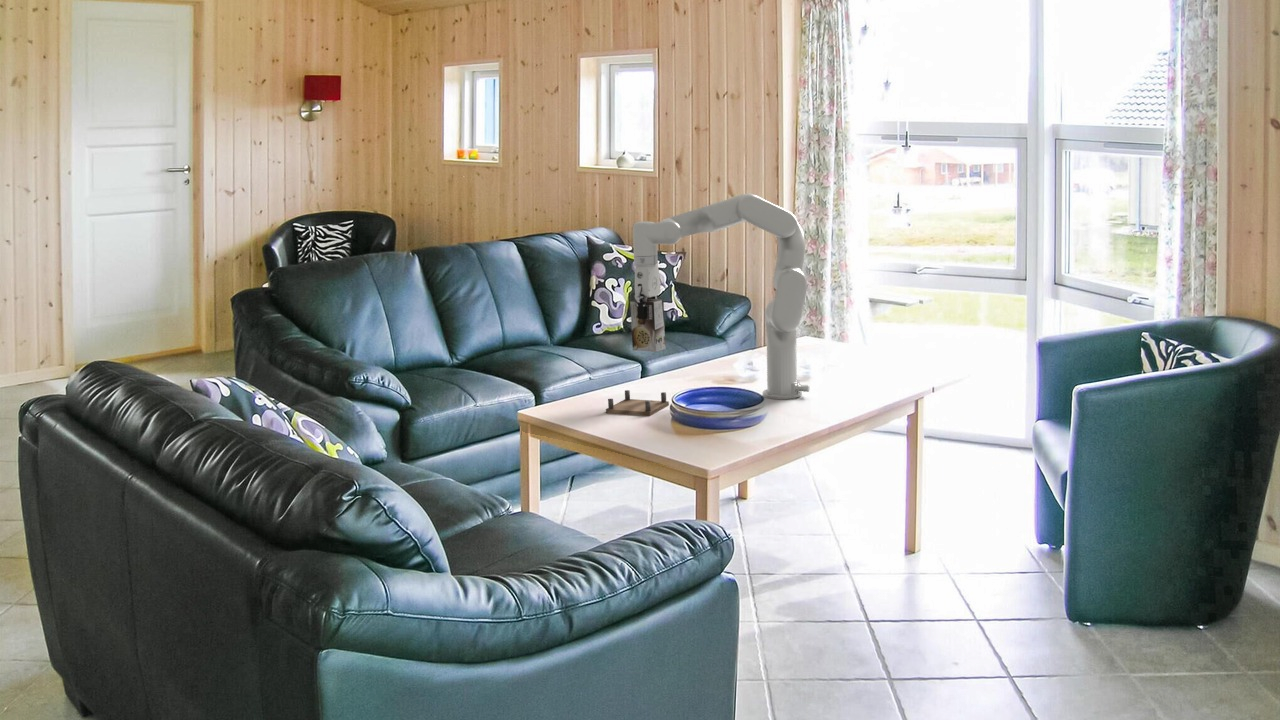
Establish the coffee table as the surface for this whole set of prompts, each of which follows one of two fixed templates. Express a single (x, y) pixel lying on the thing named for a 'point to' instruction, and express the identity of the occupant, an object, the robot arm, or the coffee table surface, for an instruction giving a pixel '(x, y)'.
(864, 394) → the coffee table surface
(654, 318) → the coffee box
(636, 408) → the stub cradle
